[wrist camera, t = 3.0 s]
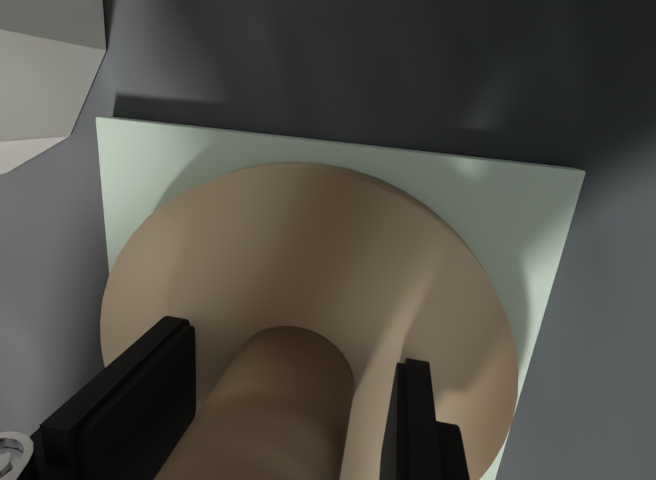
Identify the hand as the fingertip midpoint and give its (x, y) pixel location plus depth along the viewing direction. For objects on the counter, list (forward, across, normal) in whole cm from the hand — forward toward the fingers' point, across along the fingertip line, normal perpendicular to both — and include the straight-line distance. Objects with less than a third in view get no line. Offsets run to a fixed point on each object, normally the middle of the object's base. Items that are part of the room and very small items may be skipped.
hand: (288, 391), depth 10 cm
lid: (+2, 0, 0) cm, 2 cm away
